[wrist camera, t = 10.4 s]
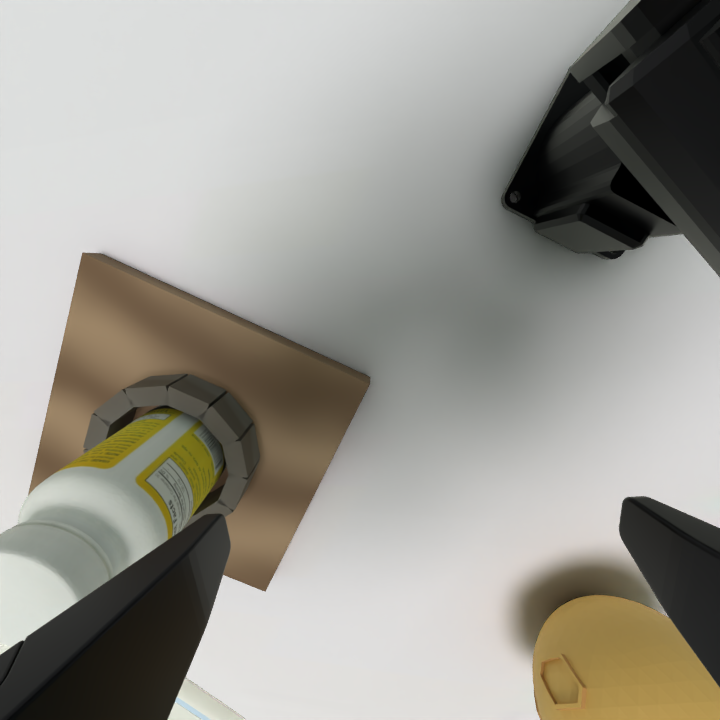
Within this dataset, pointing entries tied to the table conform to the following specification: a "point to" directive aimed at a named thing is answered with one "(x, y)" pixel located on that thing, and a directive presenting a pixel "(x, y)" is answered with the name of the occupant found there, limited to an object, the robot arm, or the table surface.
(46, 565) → the supplement bottle
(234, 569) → the collar board
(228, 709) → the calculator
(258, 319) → the table surface
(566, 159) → the robot arm
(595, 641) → the stress ball
